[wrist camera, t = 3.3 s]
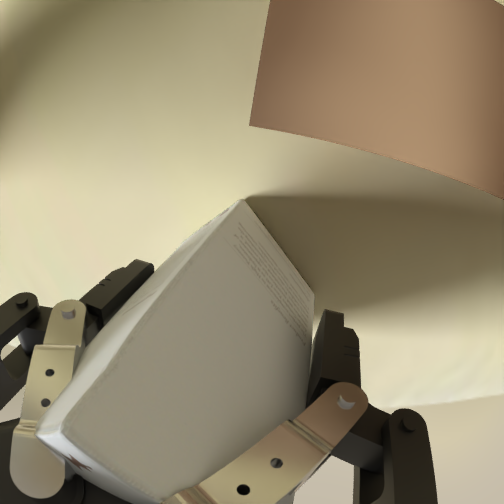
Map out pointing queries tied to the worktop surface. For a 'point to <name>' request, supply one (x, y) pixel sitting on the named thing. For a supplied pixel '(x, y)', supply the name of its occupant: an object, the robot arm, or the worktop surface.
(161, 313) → the skincare box
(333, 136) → the walnut ledge
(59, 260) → the worktop surface
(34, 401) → the robot arm
